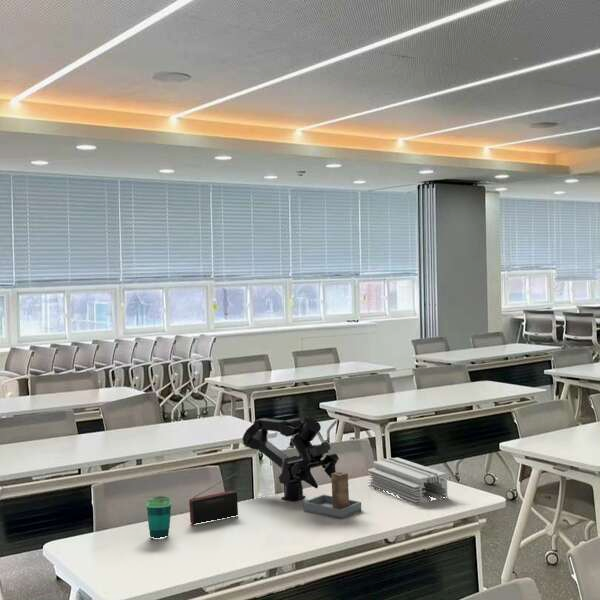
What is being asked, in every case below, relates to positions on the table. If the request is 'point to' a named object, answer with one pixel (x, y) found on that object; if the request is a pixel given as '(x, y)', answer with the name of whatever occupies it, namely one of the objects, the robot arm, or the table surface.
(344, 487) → the block
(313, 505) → the tray
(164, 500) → the cup
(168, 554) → the table surface
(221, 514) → the radio
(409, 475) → the aluminum extrusion profile
